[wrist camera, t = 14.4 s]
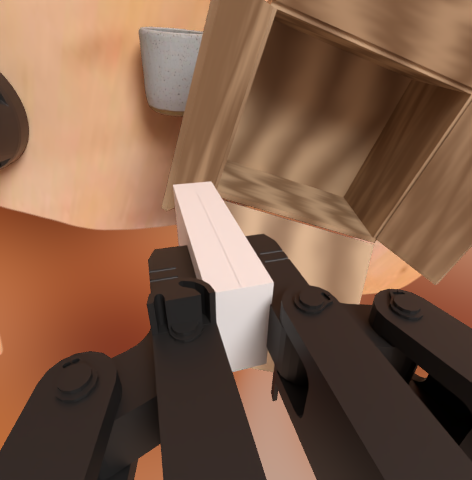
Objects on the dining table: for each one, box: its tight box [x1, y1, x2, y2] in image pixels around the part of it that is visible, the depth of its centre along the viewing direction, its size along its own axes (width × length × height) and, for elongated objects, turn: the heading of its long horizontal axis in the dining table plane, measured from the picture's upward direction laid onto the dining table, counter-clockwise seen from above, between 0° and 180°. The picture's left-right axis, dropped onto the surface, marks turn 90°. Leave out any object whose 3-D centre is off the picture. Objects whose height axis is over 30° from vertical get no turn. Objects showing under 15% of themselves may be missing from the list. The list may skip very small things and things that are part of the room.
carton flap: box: [223, 200, 374, 372], centre depth 36 cm, size 20×17×1 cm
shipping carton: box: [162, 0, 472, 285], centre depth 32 cm, size 30×26×19 cm
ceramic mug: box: [139, 27, 203, 116], centre depth 35 cm, size 11×8×8 cm
